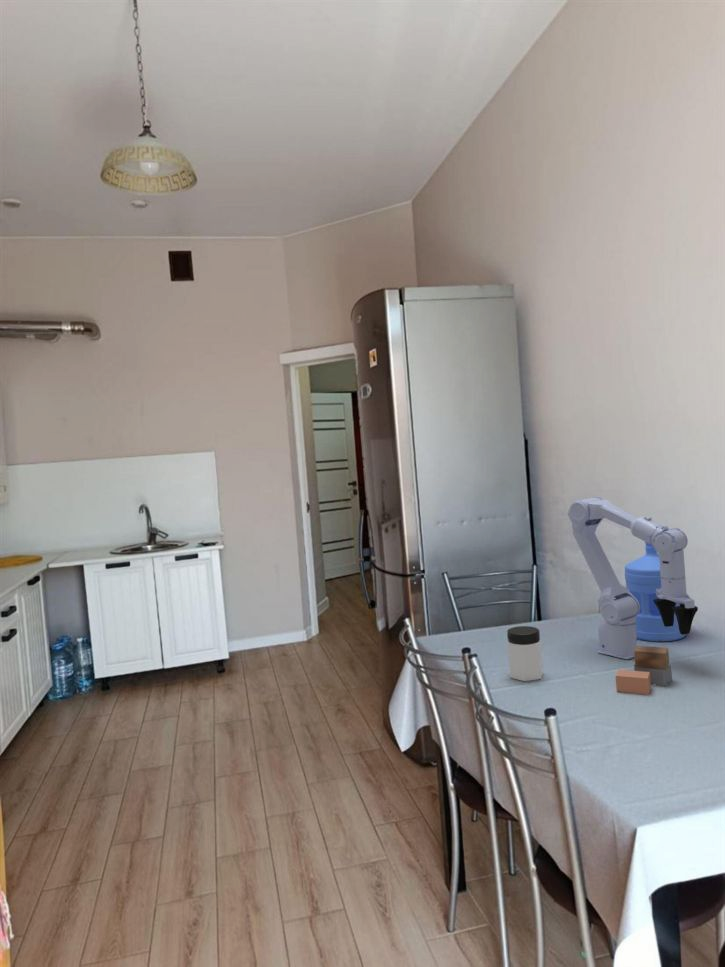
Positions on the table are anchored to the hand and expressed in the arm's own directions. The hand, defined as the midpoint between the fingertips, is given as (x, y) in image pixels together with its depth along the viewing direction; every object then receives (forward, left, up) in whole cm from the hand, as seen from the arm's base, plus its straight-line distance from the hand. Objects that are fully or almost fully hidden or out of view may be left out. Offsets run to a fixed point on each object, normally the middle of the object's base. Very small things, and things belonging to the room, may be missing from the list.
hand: (676, 629), depth 168 cm
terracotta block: (+1, -21, -10) cm, 23 cm away
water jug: (-19, +21, -10) cm, 30 cm away
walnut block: (+1, -13, -6) cm, 14 cm away
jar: (-24, -30, -10) cm, 40 cm away
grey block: (+1, -13, -10) cm, 16 cm away
